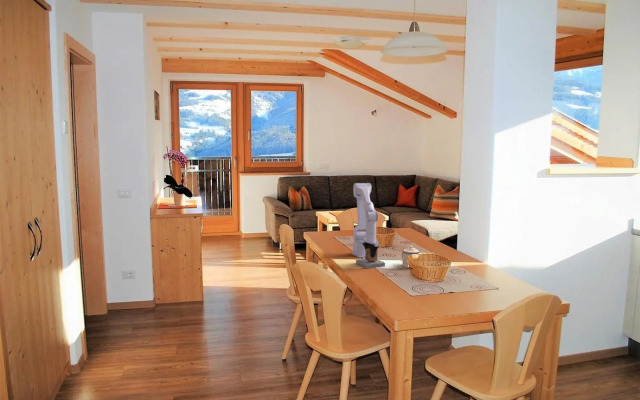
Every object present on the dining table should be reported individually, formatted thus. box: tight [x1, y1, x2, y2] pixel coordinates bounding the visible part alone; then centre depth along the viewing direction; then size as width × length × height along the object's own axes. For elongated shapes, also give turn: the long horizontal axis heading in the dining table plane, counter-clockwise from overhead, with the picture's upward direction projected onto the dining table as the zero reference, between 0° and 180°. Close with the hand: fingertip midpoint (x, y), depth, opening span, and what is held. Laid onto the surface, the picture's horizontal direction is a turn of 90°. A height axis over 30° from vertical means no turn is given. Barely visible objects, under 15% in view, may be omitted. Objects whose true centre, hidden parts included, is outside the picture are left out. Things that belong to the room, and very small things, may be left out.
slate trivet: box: [355, 258, 386, 269], centre depth 278 cm, size 12×12×2 cm
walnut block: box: [364, 249, 378, 261], centre depth 277 cm, size 5×5×6 cm
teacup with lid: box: [401, 245, 420, 269], centre depth 275 cm, size 12×9×12 cm
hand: (370, 256), depth 277 cm, fingers closed on walnut block, 5 cm apart
